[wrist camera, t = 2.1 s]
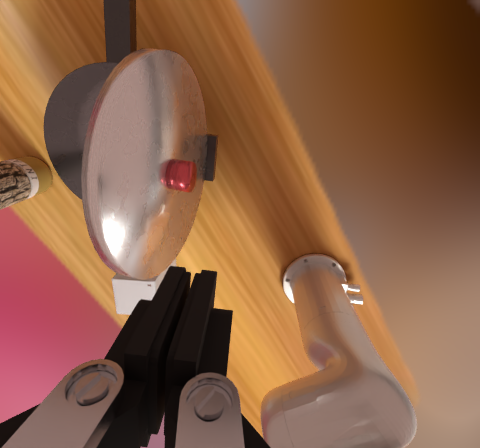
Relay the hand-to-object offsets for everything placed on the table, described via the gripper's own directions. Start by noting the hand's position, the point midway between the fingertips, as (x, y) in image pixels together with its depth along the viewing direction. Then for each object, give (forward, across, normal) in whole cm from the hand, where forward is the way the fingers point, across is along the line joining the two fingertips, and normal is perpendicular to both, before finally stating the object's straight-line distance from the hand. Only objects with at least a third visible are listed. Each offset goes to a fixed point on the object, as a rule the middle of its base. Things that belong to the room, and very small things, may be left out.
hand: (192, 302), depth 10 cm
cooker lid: (+19, +7, 0) cm, 21 cm away
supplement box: (+42, +14, +24) cm, 51 cm away
